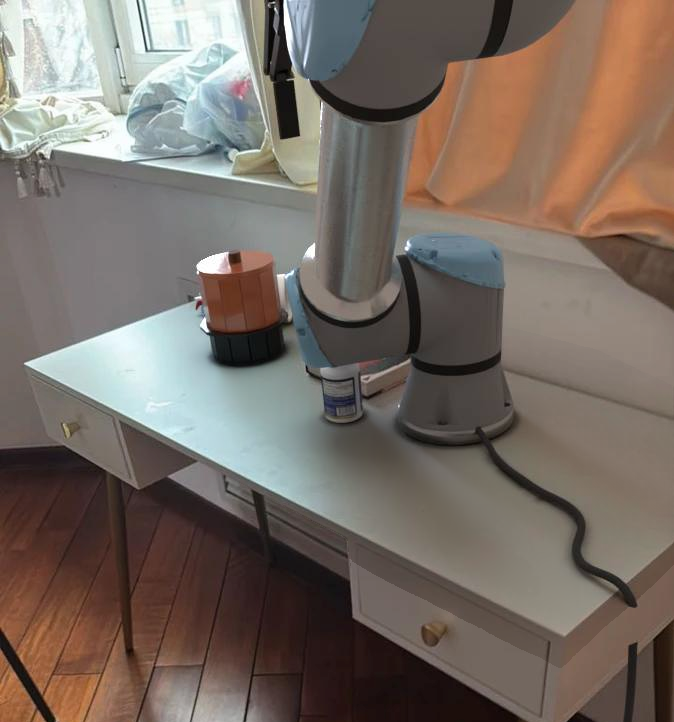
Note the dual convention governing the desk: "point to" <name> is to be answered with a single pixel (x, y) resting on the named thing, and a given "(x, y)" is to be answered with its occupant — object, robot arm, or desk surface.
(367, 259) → the robot arm
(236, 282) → the lidded pot
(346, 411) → the pill bottle
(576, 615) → the desk surface
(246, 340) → the black flanged round holder
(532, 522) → the desk surface
